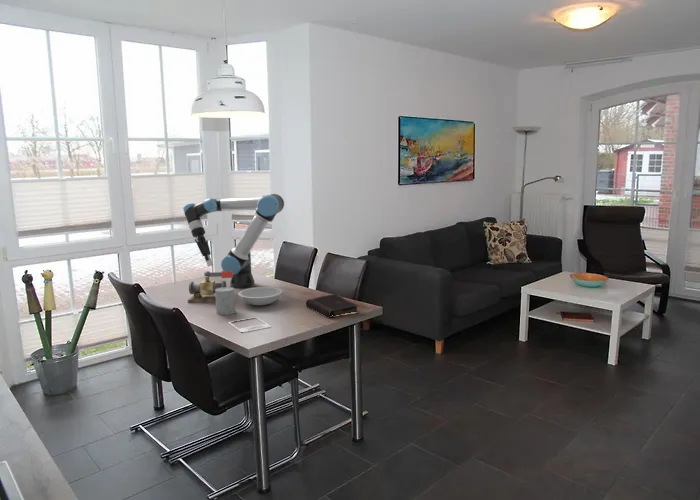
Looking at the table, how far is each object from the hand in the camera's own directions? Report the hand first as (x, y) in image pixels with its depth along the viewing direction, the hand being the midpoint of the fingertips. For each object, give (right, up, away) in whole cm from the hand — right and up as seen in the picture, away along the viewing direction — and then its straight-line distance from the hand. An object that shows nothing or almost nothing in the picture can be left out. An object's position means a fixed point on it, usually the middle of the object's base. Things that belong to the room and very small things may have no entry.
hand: (210, 265), depth 300 cm
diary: (+72, -23, -32) cm, 82 cm away
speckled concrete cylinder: (+17, -23, -34) cm, 45 cm away
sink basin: (+33, -20, -19) cm, 43 cm away
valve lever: (+8, -6, -11) cm, 15 cm away
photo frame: (+34, -27, -55) cm, 70 cm away
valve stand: (+2, -19, -10) cm, 21 cm away
